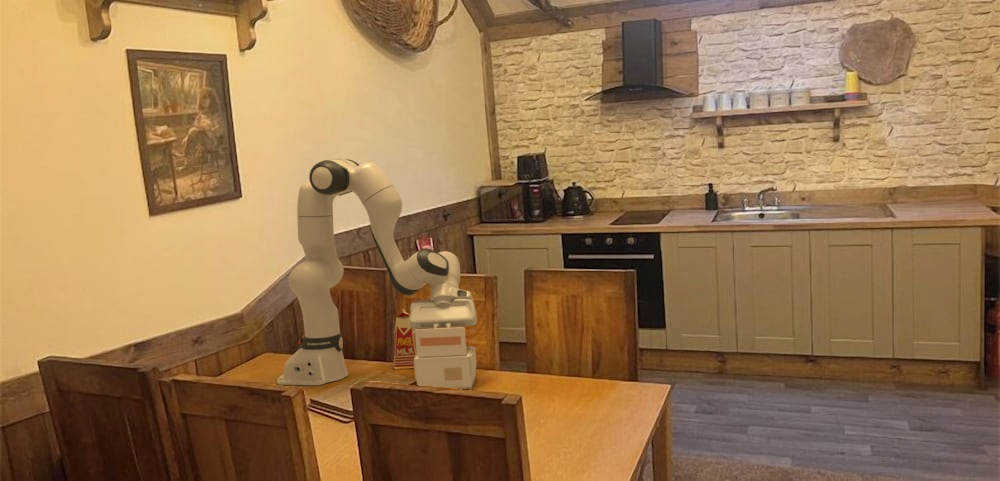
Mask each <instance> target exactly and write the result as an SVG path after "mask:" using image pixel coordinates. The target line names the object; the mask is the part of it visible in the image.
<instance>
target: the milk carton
mask: <svg viewBox="0 0 1000 481" xmlns="http://www.w3.org/2000/svg"><path fill="white" fill-rule="evenodd" d="M410 314H411V313H408V312H406V309H405V308H401V313H400V314H398V315H397V316H396V318H395V323H394V324H395V325H394V326H395V327H394V331H393V332H394V333H393V334H394V335H393V339H394V340H393V341H394V342H393V348H394V350H393V351H394V352H393V362H392V368H393V367H414V358H415V357H416V355H417V351H416V337H415V330H416V329H418V328H416V329H414V328H412V327H411V325H410V322H409V318H410Z"/></svg>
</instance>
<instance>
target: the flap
mask: <svg viewBox="0 0 1000 481" xmlns="http://www.w3.org/2000/svg"><path fill="white" fill-rule="evenodd" d="M465 327H466V326H458V327H452V328H447V327H440V328H437V329H434V328H417V329H416V330H415V337H416V351H417V357H425V356H448V355H466V347H467V344H466V343H467V341H466V328H465Z"/></svg>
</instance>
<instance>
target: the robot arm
mask: <svg viewBox="0 0 1000 481" xmlns="http://www.w3.org/2000/svg"><path fill="white" fill-rule="evenodd" d="M308 179H309V180H308V181H305V182H304V183H302V184H301V186H300V187H299V190H298V195H297V196H298V197H297V205H296V206H297V207H296V210H297V211H296V213H297V215H296V216H297V239H298V243H299V244H300V245H301V246H302V250H303V252H304V257H305V261H303V262H300V263H298V264H297V265H296V266H295V267H294V268H293V269H292V270H291V272H289V275H288V285H289V288H290V289H291V291H292V292H293V293H294V294H295V296H296V297H297V300H298V303H299V306H300V309H301V314H302V318H303V328H304V334H303V335H301V336H302V337H301V338H299V340H298V341H297V342H298V345H299V346H300V348H299V349H297V351H295V352H294V353H293V354H292V355H291V356H290V357H288V359H287V360H286V361H285V364H284V367H283V374H281V375H280V376H279V377H278V378H277V379H276V380H277V385H282V386H288V385H290V386H321V385H324V384H327V383H331V382H336V381H339V380H342V379H344V378H346V377H348V376H349V373H350V372H349V370H348V368H347V364H346V363H345V362H346V361H345V358H344V354H343V353H344V352H343V346H344V345H343V344H344V342H343V336H342V332H341V329H340V320H339V310H338V307H337V306H336V305H335V304H334V303H335V302H334V301H333V298H332V295H331V291H330V290H331V289H332V288H334V287H335V286H337V285H338V283H340V281H341V280H342V278H343V276H344V270H345V269H344V266H343V264H342V262H341V260H340V259H339V256H338V252H337V248H336V247H337V246H336V243H335V233H334V232H335V231H334V211H333V210H334V208H333V206H334V205H333V203H334V200H335V198H336V197H337V196H339V197H341V196H344V195H346V194H351V193H352V192H353V193H354V194H355V195H356V196H357V197H358V199H359V200H360V202H361V204H362V205H363V207H364V208H365V210H366V213H367V216H368V219H369V223H370V225H369V226H370V227H369V231H370V234H371V237H372V240H373V241H374V243H375V246H376V247H377V249H378V253H379V254H380V256H381V259H382V261H383V263H384V265H385V267H386V269H387V272H388V275H389V279H390V282H391V285H392V287H393V288H394V289H395V290H396V291H397V292H398V293H399V294H402V295H404V296H413V295H415V294H417V293H418V292H419V291H420V290H421V289H422V288H423V287H424V286H426V285H427V284H428V285H430V295H429V296H430V298H429V299H422V300H420V299H417V300H415V301H414V302H412V303H411V304H410V313H409V314H410V318H409V322H410V325H411V327H412V328H414V329H416V328H417V329H437V328H459V327H474V326H475V325H476V324H478V323H477V322H478V317H477V310H476V306H475V303H474V298H473V294H472V292H471V291H469V290H465V289H460V288H459V285H460V282H461V265H460V264H461V263H460V260H459V258H458V256H457V255H455V254H454V253H452V252H450V251H447V250H446V251H444V250H443V251H440V252H437V251H435V250H433V249H431V248H420V249H419V250H418V251H417V252H415V253H413V254H412V255H411V256H410V257H409V258H408V259H406V260H404V258H403V256H402V253H401V252H400V249H399V247H398V245H397V243H396V241H395V237H394V232H395V227H396V225H397V223H398V220H399V218H400V216H401V213H402V211H403V210H402V209H403V201H402V198H401V196H400V194H399V192H398V191H397V189H396V188H395V186H394V184H393V183H392V182H391V180H390V178H389V177H388V176H387V175H386V174H385V173H384V171H383V170H382V169H381V168H380V167H379V166H378V165H377V164H375V163H374V162H371V161H369V162H363V163H361V164H359V163H358V162H357V161H354V160H353V159H349V158H347V159H345V158H333V159H326V160H321V161H319V162H317V163H316V164H314V165H313V166H312V168H311V169H310V172H309V178H308Z"/></svg>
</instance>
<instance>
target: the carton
mask: <svg viewBox="0 0 1000 481" xmlns="http://www.w3.org/2000/svg"><path fill="white" fill-rule="evenodd" d="M477 364H478V363H477V353H476V347H474V346H472V345H471V346H466V355H448V356H425V357H417V355H416V357H415V358H414V369H413V370H414V377H415V378H414V379H415V380H416V386H417V385H419V386H433V387H444V388H457V389H469V390H468V391H472V389H473V386H474V384H475V382H476V379H477V375H476V374H477V372H476V370H477V367H478V366H477Z"/></svg>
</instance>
